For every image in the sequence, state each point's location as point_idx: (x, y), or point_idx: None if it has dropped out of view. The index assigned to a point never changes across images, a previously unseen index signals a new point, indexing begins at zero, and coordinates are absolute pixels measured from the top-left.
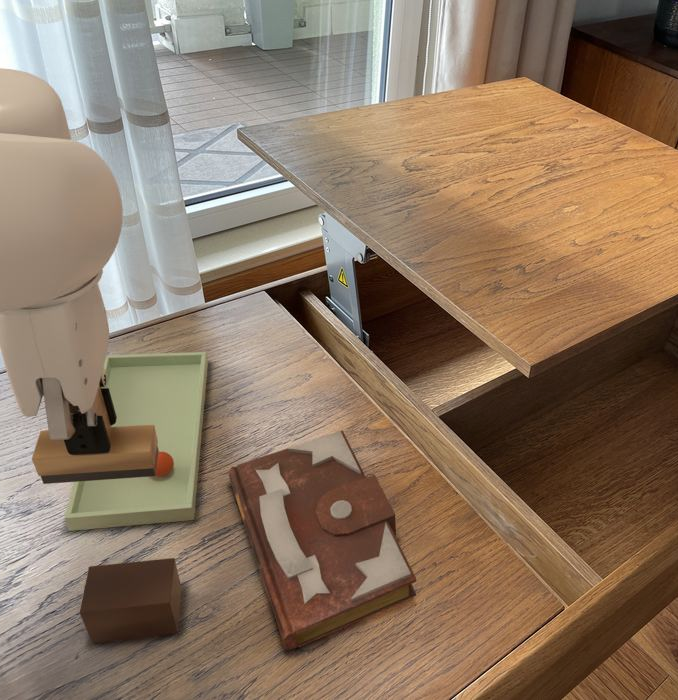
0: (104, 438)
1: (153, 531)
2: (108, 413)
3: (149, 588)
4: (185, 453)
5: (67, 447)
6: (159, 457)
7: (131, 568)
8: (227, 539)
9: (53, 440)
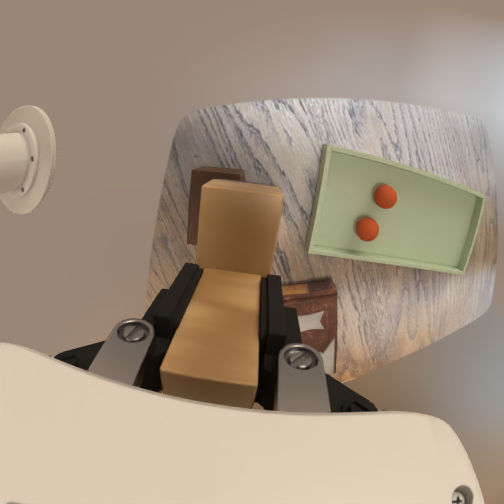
0: None
1: (303, 213)
2: None
3: None
4: (377, 246)
5: (181, 271)
6: (369, 233)
7: None
8: (277, 270)
9: (247, 222)
